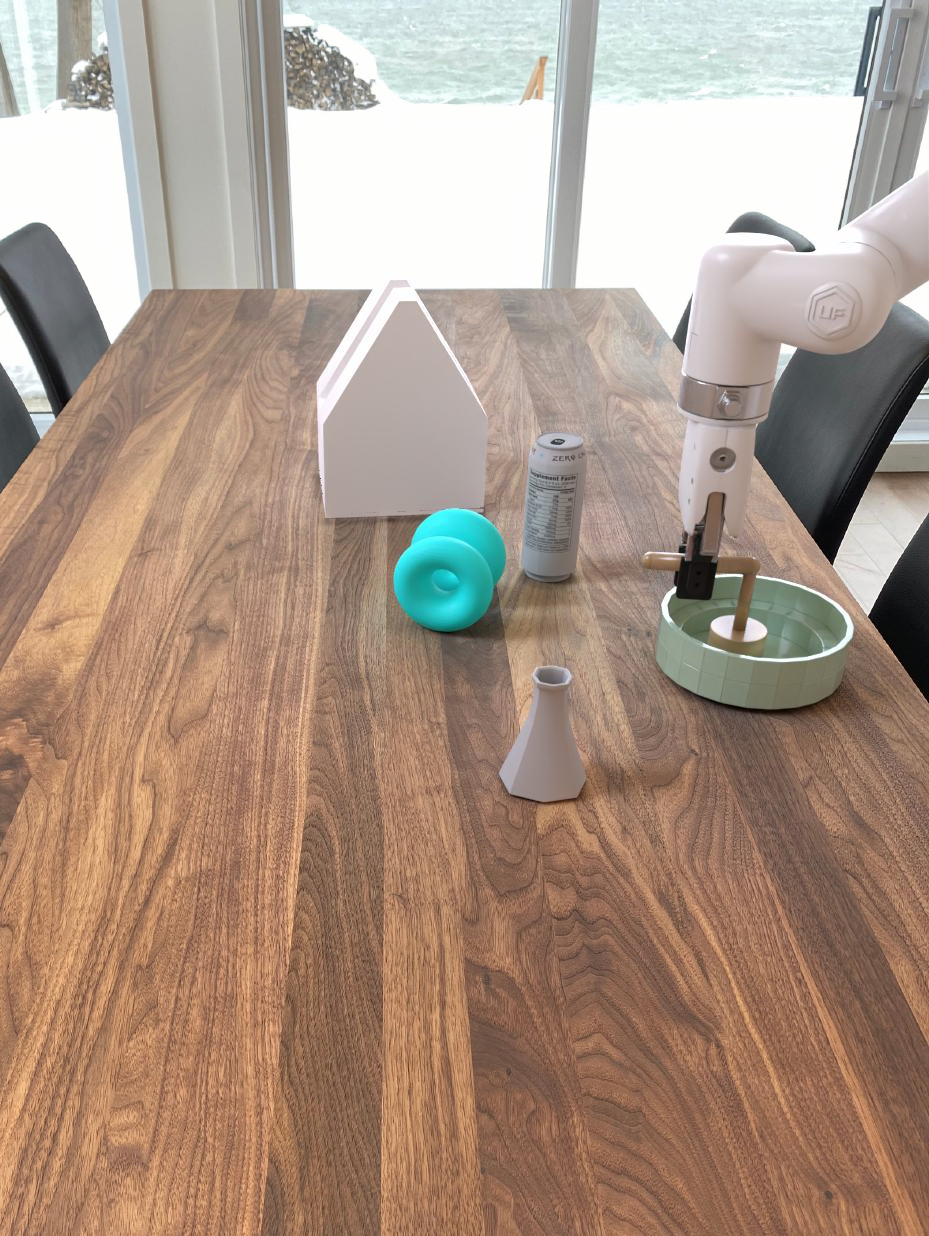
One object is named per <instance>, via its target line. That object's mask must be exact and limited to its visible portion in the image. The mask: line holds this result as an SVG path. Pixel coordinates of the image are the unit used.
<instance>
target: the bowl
mask: <svg viewBox="0 0 929 1236" xmlns="http://www.w3.org/2000/svg"><path fill="white" fill-rule="evenodd" d="M742 576H743V575H741V574H716V576H715V581H714V587H713V593H712V597H711V599H710V600H691V599H678V598H677V597H676V586H675V585H674V587H673V588H671V589H670V590H669V591H667V592H666V594H665V596H664V598H663V599H662V602H661V604H660V610H659V617H658V623H657V629H656V636H655V642H654V648H653V649H654V656H655V661H656V663H657V664H658V666H659V668H660V669H661V671H662V672H663V674H665V676H667V677H669V678H670V679H671V680H672V681H673V682H674V683H676V684H677V685H678V686H680V687H682V688H684V689H686V690H687V691H689V692H691V693H693V694H695V695H698V696H701V697H703V698H706V699H709V700H712V701H715V702H717V703H722V704H725V705H731V706H735V707H741V708H747V709H760V710H782V709H783V710H784V709H796V708H800V707H804V706H805V707H806V706H809V705H812V704H816V703H818V702H820V701H822V700H824V699H826V698H827V697H829V696H831V695H832V694H834V692H835V691H836V690H837V689H838V687H839V686H840V685H841V684H842V680H843V676H844V673H845V669H846V664H847V661H848V657H849V653H850V650H851V646H852V642H853V638H854V632H855V625H854V622H853V621H852V618H851V616H850V614H849V613H848V612H847V611H846V610H845V609H844V608H843V607H842V605H841V604H839V603H838V602H836V601H835V600H833V599H831V598H830V597H828V596H827V595H825V594H824V593H821V592H818V591H817V590H814V589H813V588H810V587H807V586H805V585H802V584H799V583H795V582H793V581H788V580H784V579H781V578H774V577H769V576H763V575H758V574H757V576H756V581H755V586H754V591H753V596H752V600H751V605H750V610H749V615H748V618H752V619H754V620H757V621H759V622H760V623H762V624H763V625H764V626H765V627H766V628H767V632H768V633H767V638H766V643H765V648H764V652H763V657H762V658H756V657H751V656H745V655H740V654H734V653H730V652H727V651H724V650H721V649H717V648H714V647H711V646H709V645H707V641H708V636H709V631H710V625H711V623H712V621H713V620H714V619H716V618H718V617H722V616H728V615H735V612H736V607H737V602H738V597H739V592H740V586H741V581H742Z"/></svg>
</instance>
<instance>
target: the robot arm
mask: <svg viewBox="0 0 929 1236" xmlns="http://www.w3.org/2000/svg"><path fill="white" fill-rule="evenodd" d="M927 282H929V166H928V167H927V168H925V169H924V170H922V171H921V172H919V173H918V174H916V175H914V177H912V178H911V179H909V180H907V182H905V183H904V184H902V185H901V186H900V187H898V188H896V189H895V190H894V191H892V192H891V193H890V194H888V195H887V196H885V197H884V198H882V199H881V200H880V201H878V202H877V203H875V204H874V205H873V206H871V207H870V208H868V209H867V210H866V211H864V212H863V213H862V214H860V215H859V216H858V217H856V218H855V219H853V220H852V221H850V222H849V223H847V224H846V225H844V226H843V227H842V228H840V229H839V230H837V232H835V233H833V235H832V236H830V237H829V238H827V239H826V240H825V241H824V242H822V243H821V245H820V246H819V247H817V249H816V250H814V251H810V252H800V251H799V252H797V251H796V249H795V247H794V245H792V243H791V242H789V241H788V239H787V240H786V239H784V238H782V237H780V236H776V235H772V234H767V233H756V232H730V233H729V232H728V233H723V234H720V235H715V236H713V237H711V238H710V239H709V240H707V241H706V242H705V243H704V244H703V246H702V248H701V249H700V252H699V254H698V258H697V263H696V271H695V277H694V284H693V292H692V299H691V306H690V313H689V318H688V326H687V332H686V333H687V334H686V340H685V347H684V352H683V361H682V368H681V373H680V380H679V387H678V388H679V389H678V395H677V401H676V412H677V413H678V414H679V415H680V416H682V417H683V418H685V419H686V420H687V423H686V430H685V435H684V442H683V447H682V448H683V449H682V454H681V455H682V456H681V463H680V471H679V479H678V480H679V481H678V494H677V495H678V505H679V510H680V516H681V520H682V531H681V539H680V540H681V544H679V545H678V550H677V553H683V554H685V557H684V556H681V561H680V567H679V571H674V574H673V575H674V576H673V585H674V587H675V586H676V597H677V598H678V599H691V600H710V599H711V597H712V593H713V587H714V581H715V576H716V575H717V573H716V570H717V564H718V555H719V554H720V549H721V542H722V538H723V531H724V526H725V525H726V529H727V532H728V535H729V537H733V539H739V538H740V537H741V536H743V534H744V529H745V522H746V515H747V507H748V501H749V494H750V487H751V479H752V474H753V473H752V472H753V465H754V457H755V446H756V432H757V431H756V430H757V424H760V423H763V422H764V421H766V420H767V419H768V417H769V412H770V407H771V402H772V396H773V391H774V386H775V380H776V375H777V370H778V364H779V358H780V353H781V350H782V349H781V348H782V344H783V345H787V346H790V347H794V348H797V349H800V350H803V351H807V352H812V353H816V354H821V355H830V356H834V355H835V356H836V355H843V354H849V353H852V352H854V351H857V350H858V349H861V348H862V347H864V346H866V345H867V344H868V343H870V342H871V341H872V340H873V339H874V338H875V337H876V336H877V335H878V334H879V333H880V331H881V330H882V329H883V327H884V325H885V324H886V321H887V319H888V317H889V315H890V312H891V310H892V308H893V306H894V305H895V304H896V303H898V302H899V301H901V300H902V299H904V298H905V297H906V296H908V295H909V294H911V293H912V292H914V291H915V290H917V289H919V288H920V287H921V286H923V285H925V284H926V283H927Z"/></svg>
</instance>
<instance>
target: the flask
mask: <svg viewBox="0 0 929 1236" xmlns="http://www.w3.org/2000/svg"><path fill="white" fill-rule="evenodd" d="M530 678H531V681H532V683H533V685H534V687H533V695H532V701H531V703H530V707H529V710H528V713H527V716H526V718H525V720H524V722H523V724H522V727H521V729H520V730H519V733H518V734H517V737H516V739H515V741H514V743H513V745H512V747H511V749H510V750H509V753H508V754H507V756H506V757H505V760H504V762H503V763H502V765H501V768H500V770H499V771H498V775H499V777H500V779H501V780H502V782H503V784H504V786H505V789H506V790H507V792H508V794H509V795H513V796H517V797H521V798H524V799H529V800H533V801H537V802H541V803H549V802H555V801H562V800H569V799H576V798H578V796H579V795H580V793H581V791H582V788H583V787H584V785H585V783H586V781H587V774H586V772H585V771H586V770H585V767H584V765H583V761H582V758H581V755H580V751H579V749H578V746H577V742H576V738H575V735H574V731H573V728H572V725H571V720H570V713H569V704H568V692H569V687H570V686H571V684H572V682H573V679H574V676H573V675H572V673H571V672H570V670H569V668H566V667H561V666H557V665H544V666H536V667H535V669H534V671H533V672H532V673H531V677H530Z"/></svg>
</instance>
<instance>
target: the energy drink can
mask: <svg viewBox="0 0 929 1236" xmlns="http://www.w3.org/2000/svg"><path fill="white" fill-rule="evenodd" d="M583 444H584V439H583V438H582V436H580V435H579V434H576V433H572V432H567V431H546V432H543V433H539V434H538V435H537V436H536V438H535V444H534V445H533V447H532V448H531V450H530V451H529V452H528V463H527V477H526V488H525V489H526V490H525V501H524V517H523V527H522V528H523V530H522V541H521V543H522V544H521V557H520V565H521V568H523V569H524V572H525V573H524V574H526V576H527V577H529V578H530V579H532V580H534V581H538V582H543V583H559V582H562V581H565V580H567V579H568V578H570V576H571V574H572V573H573V572H574V571H575V570H576V569H577V563H578V553H579V543H580V534H581V526H582V514H583V505H584V498H585V497H584V496H585V488H586V487H585V486H586V478H587V477H586V476H587V466H588V459H589V458H588V454H587V452H586V448H585V447H584V445H583Z"/></svg>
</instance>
